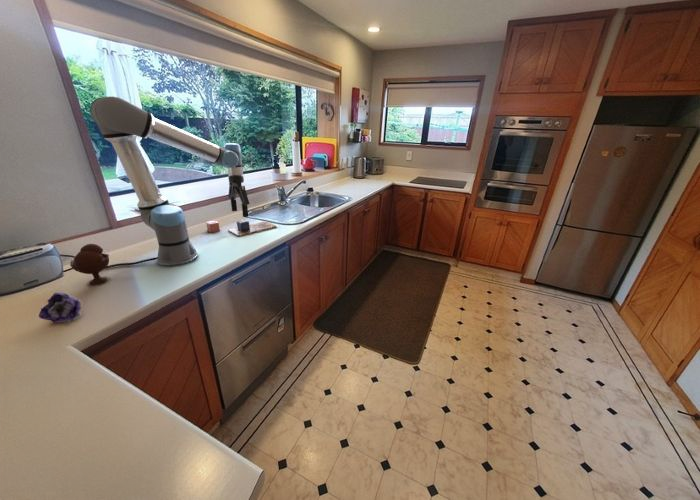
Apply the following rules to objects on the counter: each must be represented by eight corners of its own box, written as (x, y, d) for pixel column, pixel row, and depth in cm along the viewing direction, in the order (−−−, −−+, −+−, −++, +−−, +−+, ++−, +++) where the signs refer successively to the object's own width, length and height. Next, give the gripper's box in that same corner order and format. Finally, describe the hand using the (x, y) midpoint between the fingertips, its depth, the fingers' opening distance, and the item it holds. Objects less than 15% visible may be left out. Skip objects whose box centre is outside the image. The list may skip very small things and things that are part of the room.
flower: (40, 294, 87) (43, 291, 80) (79, 294, 93) (84, 292, 87) (35, 325, 85) (37, 324, 78) (74, 323, 91) (80, 322, 85)
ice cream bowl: (86, 277, 109) (72, 241, 103) (121, 273, 113) (109, 238, 107) (73, 291, 100) (56, 253, 94) (111, 286, 104) (97, 249, 98)
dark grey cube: (241, 231, 157) (240, 222, 155) (237, 229, 160) (236, 220, 158) (249, 229, 160) (248, 221, 158) (245, 227, 164) (244, 218, 162)
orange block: (210, 232, 157) (209, 223, 155) (207, 230, 160) (205, 221, 158) (219, 230, 160) (218, 222, 158) (216, 228, 164) (214, 219, 161)
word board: (238, 236, 153) (237, 235, 152) (228, 231, 160) (228, 229, 160) (276, 227, 169) (276, 225, 168) (266, 222, 176) (266, 221, 176)
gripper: (253, 177, 142) (257, 217, 151) (232, 171, 158) (236, 207, 166) (239, 178, 137) (243, 220, 146) (218, 172, 153) (223, 209, 161)
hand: (240, 213), depth 156 cm, fingers open, 13 cm apart
